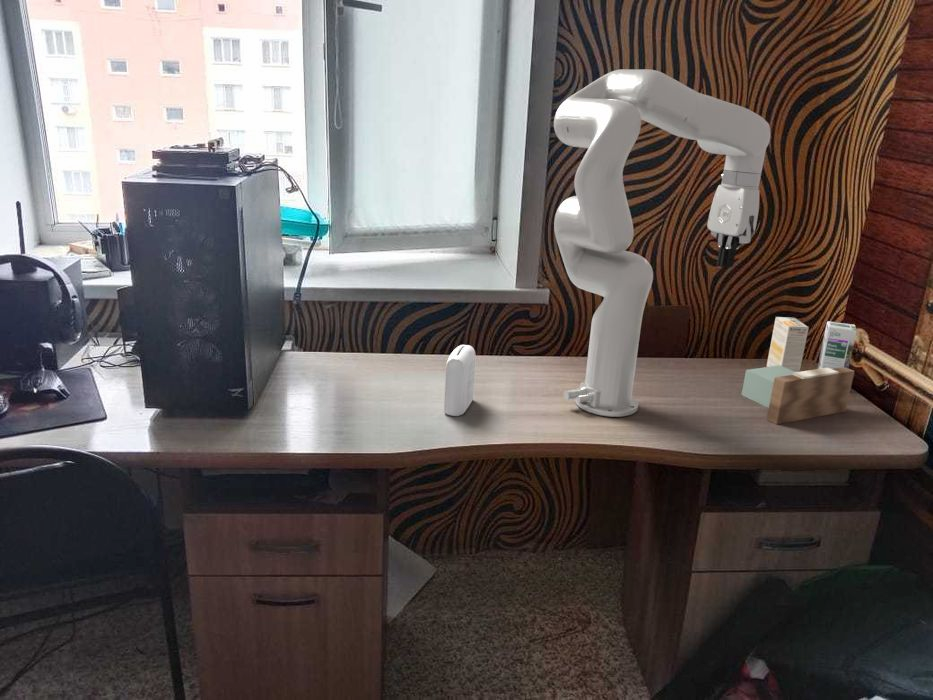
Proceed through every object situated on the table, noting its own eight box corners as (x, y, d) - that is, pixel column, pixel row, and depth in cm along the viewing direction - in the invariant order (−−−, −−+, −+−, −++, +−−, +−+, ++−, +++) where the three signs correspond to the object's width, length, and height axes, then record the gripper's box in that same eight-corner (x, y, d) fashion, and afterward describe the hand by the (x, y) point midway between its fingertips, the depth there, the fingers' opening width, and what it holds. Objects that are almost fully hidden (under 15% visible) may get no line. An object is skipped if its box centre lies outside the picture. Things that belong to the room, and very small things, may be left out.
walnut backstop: (776, 424, 147) (785, 380, 144) (766, 419, 149) (774, 375, 146) (845, 411, 155) (855, 369, 152) (834, 406, 157) (844, 365, 154)
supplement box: (798, 381, 172) (810, 327, 167) (778, 380, 172) (788, 325, 167) (785, 369, 179) (795, 317, 175) (765, 368, 179) (775, 315, 175)
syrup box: (815, 387, 168) (828, 326, 164) (814, 379, 174) (827, 319, 169) (843, 392, 166) (857, 330, 162) (841, 383, 172) (855, 323, 167)
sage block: (785, 417, 151) (791, 389, 149) (741, 395, 161) (745, 370, 160) (819, 410, 156) (825, 384, 154) (774, 390, 166) (779, 365, 164)
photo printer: (454, 396, 152) (457, 338, 148) (475, 399, 151) (478, 341, 147) (440, 415, 142) (443, 354, 138) (462, 418, 141) (466, 357, 138)
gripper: (702, 176, 162) (688, 259, 167) (753, 183, 149) (736, 273, 154) (729, 177, 165) (714, 259, 170) (781, 185, 152) (763, 273, 157)
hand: (724, 266), depth 162 cm, fingers closed
